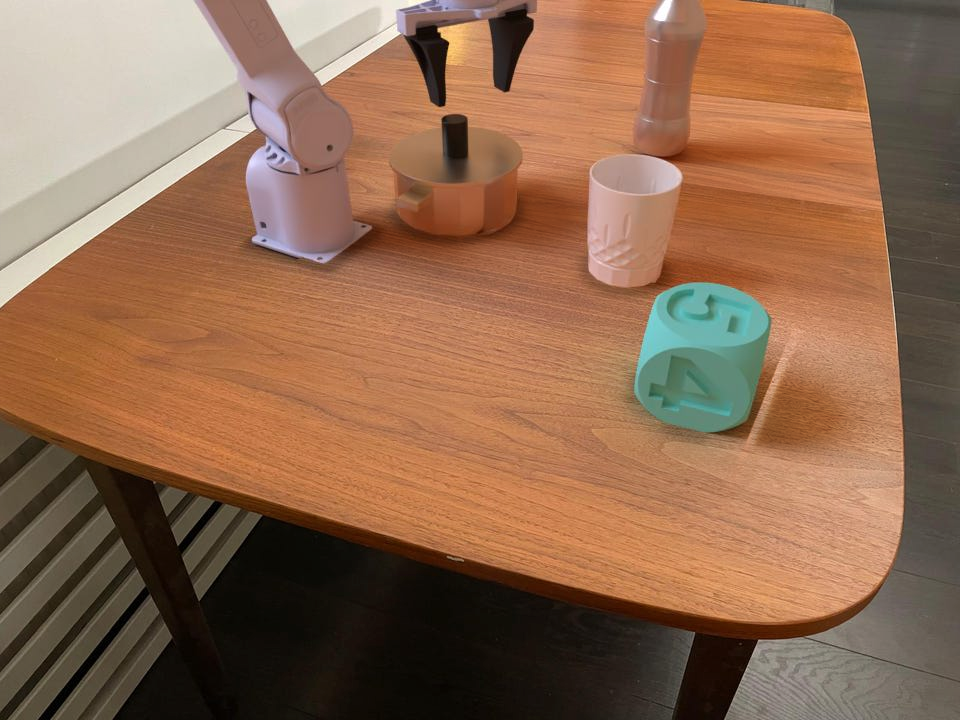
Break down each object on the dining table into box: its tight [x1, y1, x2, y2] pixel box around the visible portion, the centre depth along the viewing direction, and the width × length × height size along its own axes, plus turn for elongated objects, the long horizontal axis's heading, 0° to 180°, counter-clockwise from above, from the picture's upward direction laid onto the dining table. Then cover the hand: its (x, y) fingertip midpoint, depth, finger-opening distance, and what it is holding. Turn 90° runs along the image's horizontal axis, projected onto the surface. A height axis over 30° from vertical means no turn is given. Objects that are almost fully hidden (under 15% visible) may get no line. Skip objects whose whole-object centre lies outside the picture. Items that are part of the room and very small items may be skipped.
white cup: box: [586, 153, 684, 289], centre depth 68 cm, size 8×8×10 cm
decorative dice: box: [633, 281, 773, 433], centre depth 55 cm, size 8×8×8 cm
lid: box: [388, 113, 524, 188], centre depth 76 cm, size 14×14×5 cm
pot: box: [392, 134, 519, 237], centre depth 79 cm, size 13×18×6 cm
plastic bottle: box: [632, 0, 708, 157], centre depth 86 cm, size 6×7×20 cm
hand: (470, 96), depth 78 cm, fingers open, 7 cm apart
